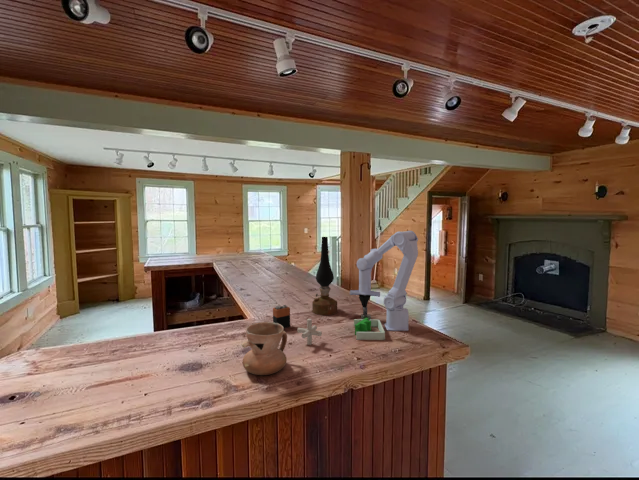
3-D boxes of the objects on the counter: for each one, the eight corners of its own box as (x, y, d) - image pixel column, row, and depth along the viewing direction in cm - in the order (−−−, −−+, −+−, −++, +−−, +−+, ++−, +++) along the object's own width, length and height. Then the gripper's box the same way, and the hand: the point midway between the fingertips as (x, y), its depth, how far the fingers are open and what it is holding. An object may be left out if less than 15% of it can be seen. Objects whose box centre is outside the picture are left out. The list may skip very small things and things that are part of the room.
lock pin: (368, 323, 147) (369, 312, 146) (364, 322, 147) (364, 312, 146) (367, 317, 155) (367, 306, 154) (362, 317, 155) (362, 306, 154)
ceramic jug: (255, 387, 96) (255, 341, 95) (230, 369, 106) (230, 328, 105) (300, 367, 109) (301, 326, 108) (274, 353, 119) (274, 316, 118)
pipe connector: (326, 341, 130) (326, 317, 129) (315, 351, 121) (315, 325, 120) (304, 337, 134) (303, 314, 133) (292, 346, 125) (291, 321, 124)
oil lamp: (341, 316, 171) (356, 242, 171) (326, 319, 158) (342, 239, 158) (319, 309, 178) (334, 238, 178) (304, 311, 165) (319, 235, 165)
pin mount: (370, 324, 148) (371, 316, 148) (361, 324, 148) (361, 316, 148) (370, 322, 151) (370, 314, 151) (361, 322, 152) (361, 314, 151)
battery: (272, 327, 145) (272, 305, 145) (285, 324, 149) (285, 303, 148) (277, 330, 142) (276, 308, 141) (290, 327, 146) (290, 305, 145)
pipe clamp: (362, 337, 134) (362, 326, 134) (354, 335, 136) (354, 325, 136) (373, 328, 144) (373, 318, 143) (366, 327, 146) (366, 317, 145)
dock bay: (379, 325, 147) (379, 319, 146) (384, 339, 131) (385, 332, 131) (353, 325, 147) (353, 319, 147) (356, 339, 131) (356, 332, 131)
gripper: (348, 283, 153) (348, 311, 154) (379, 285, 149) (379, 313, 150) (351, 280, 160) (351, 307, 161) (380, 282, 156) (380, 309, 157)
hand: (364, 310), depth 156 cm, fingers closed
